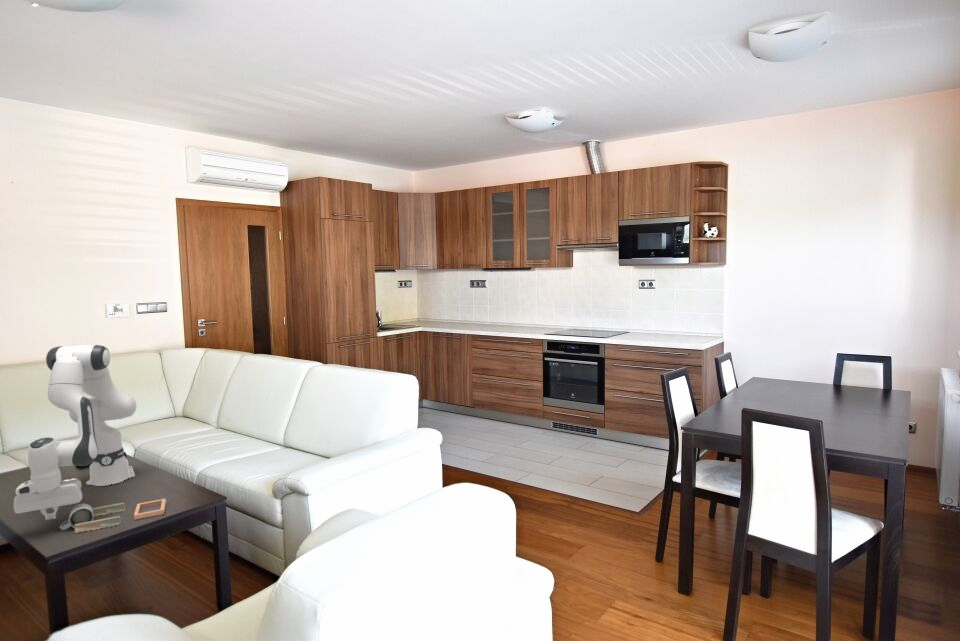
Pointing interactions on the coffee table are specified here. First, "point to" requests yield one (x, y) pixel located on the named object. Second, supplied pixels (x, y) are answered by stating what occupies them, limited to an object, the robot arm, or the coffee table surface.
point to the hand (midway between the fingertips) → (51, 518)
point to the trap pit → (150, 509)
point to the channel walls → (102, 522)
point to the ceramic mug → (78, 516)
